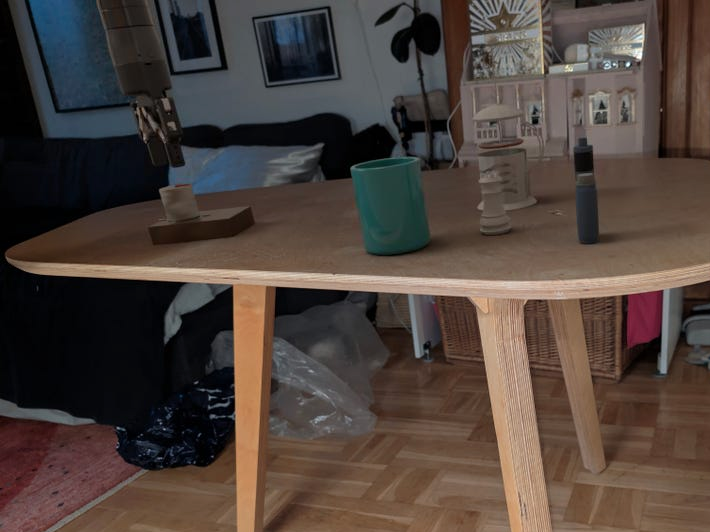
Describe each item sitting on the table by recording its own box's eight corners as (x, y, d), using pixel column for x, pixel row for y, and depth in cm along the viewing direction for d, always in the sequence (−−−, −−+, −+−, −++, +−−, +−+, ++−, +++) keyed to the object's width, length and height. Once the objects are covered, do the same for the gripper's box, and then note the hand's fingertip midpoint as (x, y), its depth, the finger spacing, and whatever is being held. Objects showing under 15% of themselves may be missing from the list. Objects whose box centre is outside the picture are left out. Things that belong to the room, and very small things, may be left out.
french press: (488, 198, 120) (471, 38, 110) (554, 195, 116) (542, 29, 106) (468, 212, 111) (447, 40, 101) (538, 209, 107) (524, 30, 97)
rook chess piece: (494, 226, 100) (488, 169, 97) (518, 228, 97) (512, 169, 94) (473, 234, 97) (466, 175, 94) (497, 236, 94) (490, 176, 91)
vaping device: (597, 232, 90) (592, 136, 85) (600, 243, 85) (595, 141, 80) (577, 234, 90) (571, 138, 86) (578, 245, 86) (572, 143, 81)
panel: (149, 245, 117) (143, 226, 115) (176, 231, 126) (171, 213, 125) (233, 236, 115) (228, 217, 114) (254, 222, 124) (250, 205, 123)
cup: (443, 231, 101) (432, 151, 97) (421, 254, 90) (407, 165, 86) (384, 235, 103) (371, 157, 99) (355, 258, 92) (339, 171, 88)
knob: (162, 222, 117) (152, 189, 115) (176, 215, 122) (167, 184, 120) (191, 219, 117) (182, 186, 115) (204, 212, 122) (196, 180, 119)
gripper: (101, 66, 113) (133, 169, 119) (128, 59, 102) (161, 172, 109) (148, 61, 117) (177, 161, 123) (178, 54, 107) (207, 163, 113)
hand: (169, 166), depth 116 cm, fingers open, 8 cm apart
